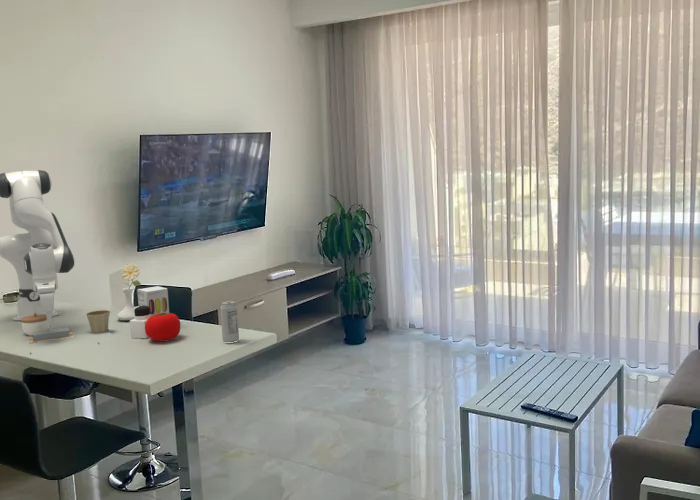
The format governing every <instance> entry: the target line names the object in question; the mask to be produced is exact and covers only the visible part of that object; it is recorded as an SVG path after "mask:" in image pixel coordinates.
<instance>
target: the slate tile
mask: <svg viewBox="0 0 700 500" xmlns="http://www.w3.org/2000/svg"><path fill="white" fill-rule="evenodd" d="M69 332H70V329H69V327H60V328H54V329H53V328H52V329H49V330H45V331H37V332H33V336H32V337H33V342H35V341H42V340H49V339H56V338H63V337H70V335H69Z"/></svg>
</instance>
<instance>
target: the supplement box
mask: <svg viewBox="0 0 700 500" xmlns="http://www.w3.org/2000/svg"><path fill="white" fill-rule="evenodd" d="M137 301H138V306H149V307H150V317H151V316H152V315H155V314H159V313H170V307H169V306H170V305H169V291H168V288H167V287H163V286H159V285H156V286H151V287H145V288H137Z"/></svg>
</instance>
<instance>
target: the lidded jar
mask: <svg viewBox="0 0 700 500" xmlns="http://www.w3.org/2000/svg"><path fill="white" fill-rule="evenodd" d="M20 322H21V328H22V330H23V332H24V333H25V334H26V336H31V337H33V332H37V331H45V330H50V327H51V322H47V317H46V314H36V313H34V315H30V316H26V317H23V318H21V320H20Z"/></svg>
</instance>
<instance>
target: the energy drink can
mask: <svg viewBox="0 0 700 500" xmlns="http://www.w3.org/2000/svg"><path fill="white" fill-rule="evenodd" d="M219 308H220V309H219V311H220V320H221V323H220V324H221V335H222V338H221V339H222V341H223V342H234V341H237V340H238V341H239V340H240V334H239V318H238V306H237V305H236V302H235V301H233V300H228V301H227V300H226V301H222V302H221V306H220V307H219Z"/></svg>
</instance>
